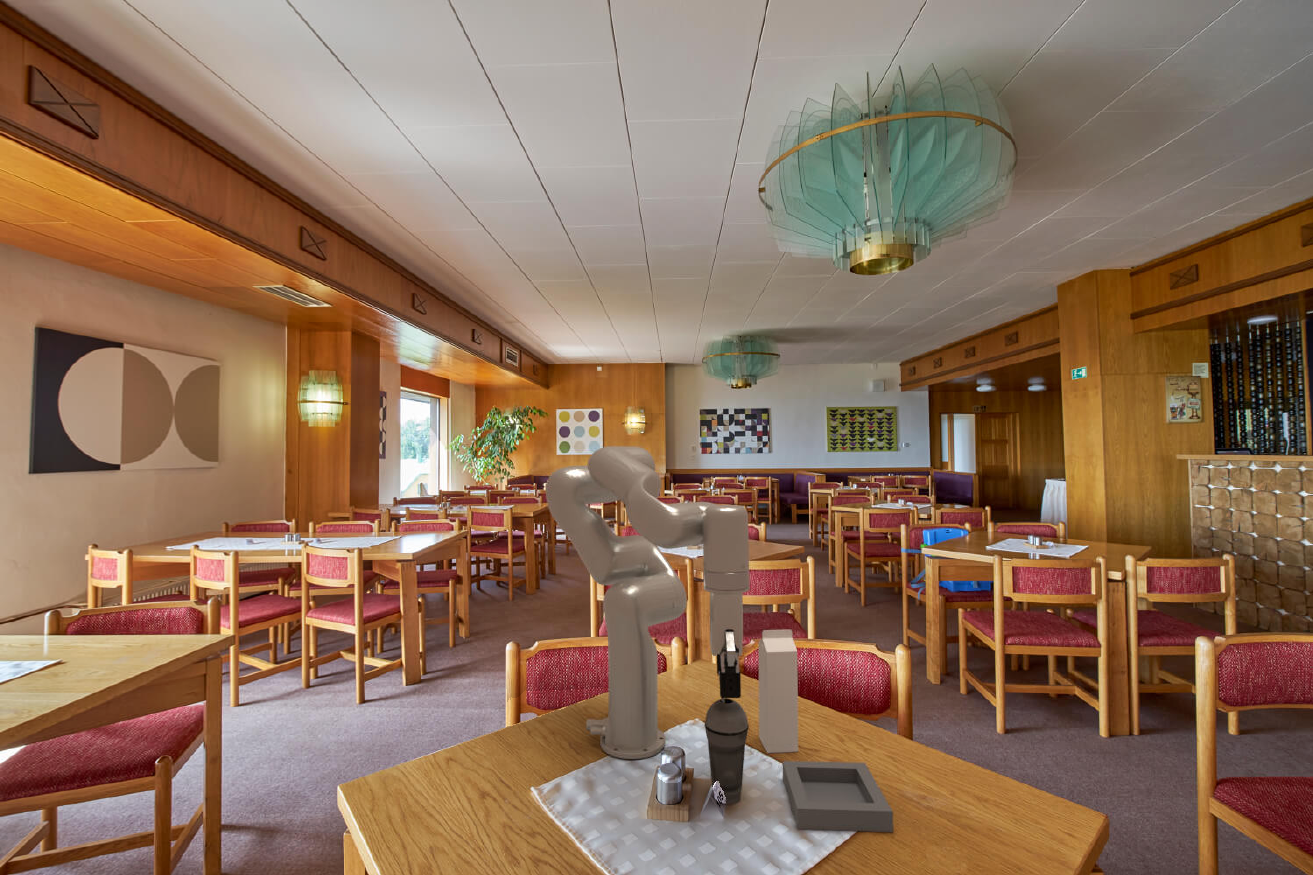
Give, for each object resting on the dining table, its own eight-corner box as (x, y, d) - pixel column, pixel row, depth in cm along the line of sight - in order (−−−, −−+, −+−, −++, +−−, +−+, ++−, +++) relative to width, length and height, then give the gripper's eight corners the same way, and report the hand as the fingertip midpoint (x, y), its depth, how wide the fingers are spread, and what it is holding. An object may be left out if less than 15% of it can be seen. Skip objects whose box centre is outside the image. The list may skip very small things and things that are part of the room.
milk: (798, 752, 112) (798, 634, 113) (766, 753, 112) (766, 635, 112) (788, 736, 118) (787, 625, 119) (758, 738, 118) (758, 625, 118)
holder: (797, 828, 89) (797, 808, 89) (782, 778, 103) (782, 760, 103) (893, 832, 88) (892, 811, 88) (865, 780, 102) (864, 762, 102)
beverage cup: (735, 815, 93) (734, 684, 93) (695, 799, 97) (695, 674, 98) (757, 793, 98) (756, 671, 99) (719, 779, 103) (718, 662, 103)
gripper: (702, 571, 107) (704, 667, 107) (705, 591, 90) (707, 707, 89) (744, 570, 107) (746, 667, 106) (755, 591, 90) (757, 707, 89)
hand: (728, 685), depth 98 cm, fingers open, 9 cm apart
